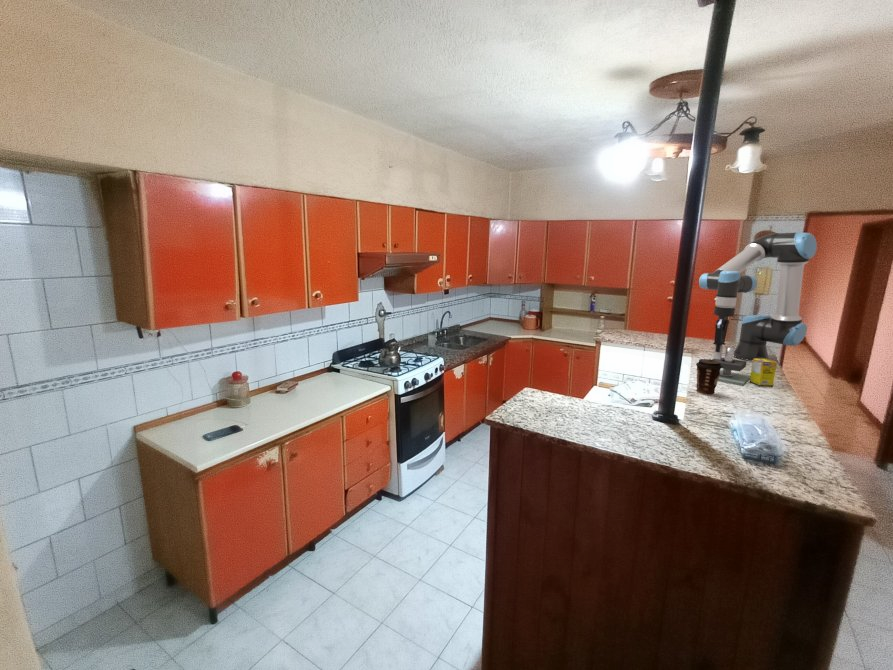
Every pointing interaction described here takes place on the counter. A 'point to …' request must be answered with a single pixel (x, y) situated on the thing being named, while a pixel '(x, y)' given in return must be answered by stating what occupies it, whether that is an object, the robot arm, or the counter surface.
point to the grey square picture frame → (732, 364)
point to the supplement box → (763, 372)
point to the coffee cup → (707, 376)
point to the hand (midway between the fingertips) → (717, 358)
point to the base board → (734, 379)
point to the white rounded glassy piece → (729, 359)
